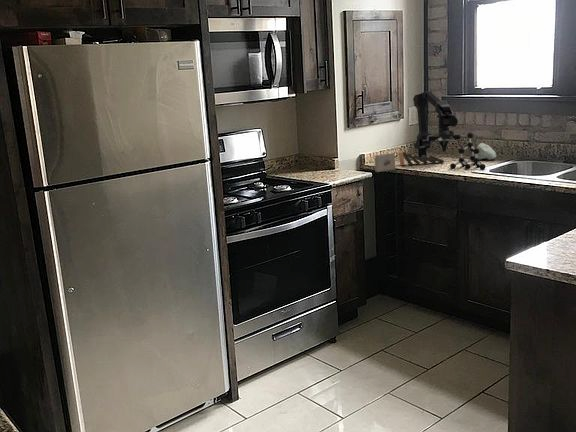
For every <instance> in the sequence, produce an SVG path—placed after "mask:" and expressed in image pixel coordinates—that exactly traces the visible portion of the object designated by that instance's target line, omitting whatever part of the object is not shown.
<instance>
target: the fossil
mask: <svg viewBox="0 0 576 432" xmlns="http://www.w3.org/2000/svg"><path fill="white" fill-rule="evenodd" d="M395 158H396V156H395V153H394V152H390V153H383V154H375V157H374V172H375V173H380V172H388V171H395V170H396V159H395Z"/></svg>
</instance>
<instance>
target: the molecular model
mask: <svg viewBox="0 0 576 432" xmlns="http://www.w3.org/2000/svg"><path fill="white" fill-rule="evenodd" d="M467 138H468V141H469V142H468V143H467V145H466V146H465V147H464V148H463V147H459V149H458V153H459V154H460V157H459V159H458V161H457V162H455V163H454V162H452V163H450V165H449V167H450V169H451V168H452V170H453V169H454V170H455V169H456V167H457V166H458V165H459V164H461V166H462V167H464V169H465V170H470V169H471V167H472V165H474V166H476V167H477V168H479V170H482V171H484V170H485V169H486V166H487V165H485V164H484V163H482V162H481V161H480V160H479V159H478V158H477V154H478V153H479V149H478V148H477V147H476V146H475V145H474V142H472V138H474V134H473V132H468V133H467ZM467 149H469V151H470V152H471V156H470V157H469V159H468V160H465V158H464V157H463V154H464V153H465V150H467Z"/></svg>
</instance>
